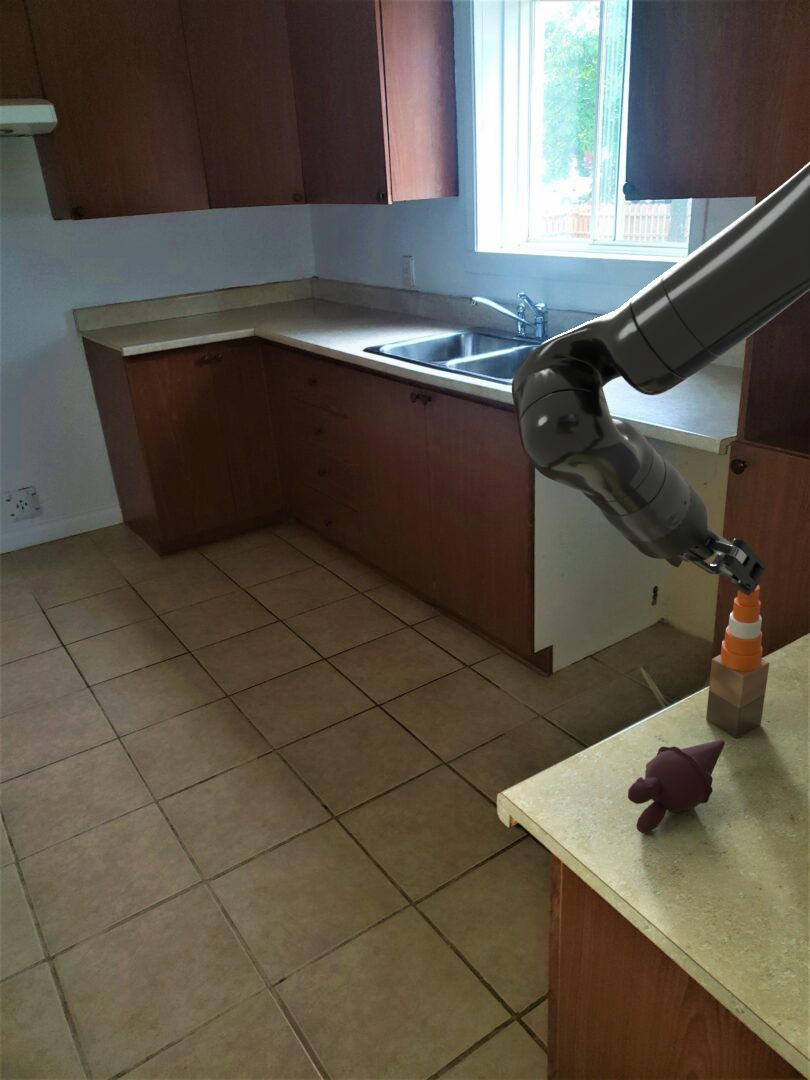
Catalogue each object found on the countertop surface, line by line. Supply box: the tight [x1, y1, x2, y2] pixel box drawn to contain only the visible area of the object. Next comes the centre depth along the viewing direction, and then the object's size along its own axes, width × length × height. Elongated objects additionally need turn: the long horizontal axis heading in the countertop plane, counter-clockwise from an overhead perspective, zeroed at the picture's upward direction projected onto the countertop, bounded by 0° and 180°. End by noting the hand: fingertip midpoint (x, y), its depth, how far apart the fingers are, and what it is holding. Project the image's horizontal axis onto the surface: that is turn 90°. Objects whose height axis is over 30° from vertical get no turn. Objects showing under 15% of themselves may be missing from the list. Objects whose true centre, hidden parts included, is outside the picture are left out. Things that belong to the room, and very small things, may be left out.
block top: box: [708, 654, 770, 708], centre depth 97 cm, size 4×4×4 cm
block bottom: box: [705, 689, 766, 739], centre depth 99 cm, size 4×4×4 cm
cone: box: [720, 584, 764, 671], centre depth 94 cm, size 4×4×10 cm
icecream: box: [627, 739, 726, 834], centre depth 87 cm, size 7×7×15 cm
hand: (714, 571), depth 86 cm, fingers open, 8 cm apart
